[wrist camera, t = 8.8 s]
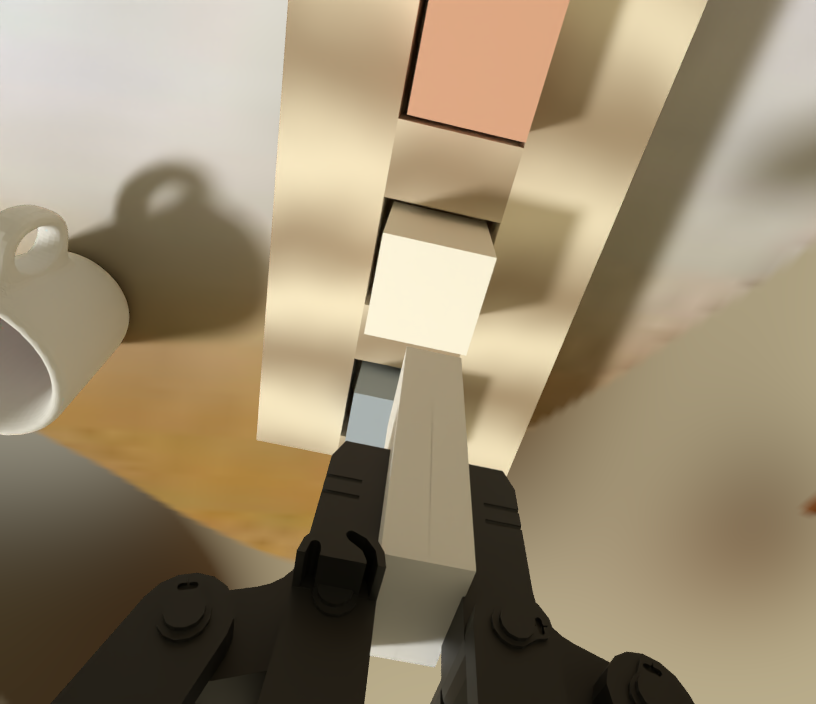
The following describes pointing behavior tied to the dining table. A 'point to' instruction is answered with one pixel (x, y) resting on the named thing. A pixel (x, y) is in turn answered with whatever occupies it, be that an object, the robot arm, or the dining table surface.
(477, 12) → the key terracotta
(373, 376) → the key slate
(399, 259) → the key cream
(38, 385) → the cup
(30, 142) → the dining table surface
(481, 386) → the console
